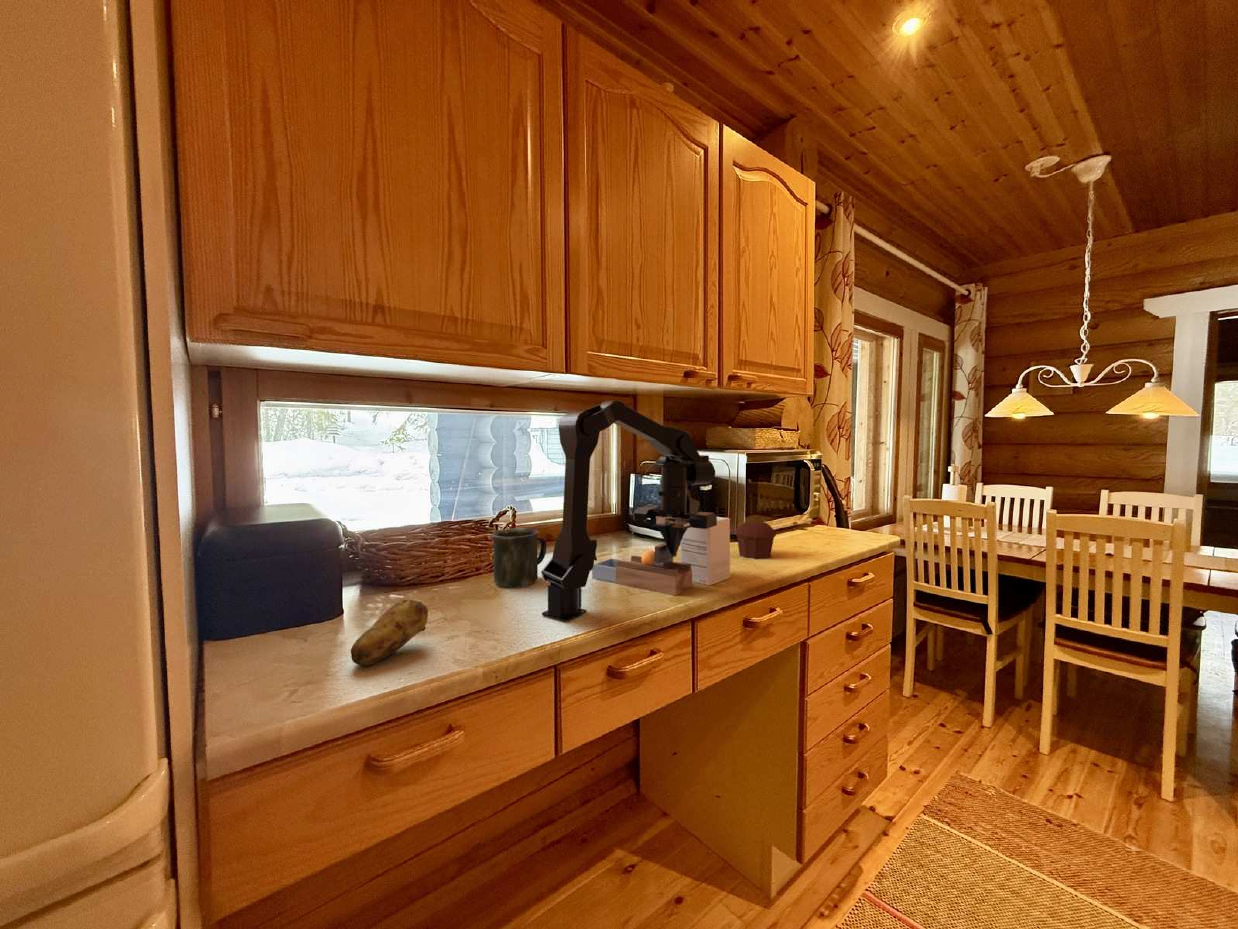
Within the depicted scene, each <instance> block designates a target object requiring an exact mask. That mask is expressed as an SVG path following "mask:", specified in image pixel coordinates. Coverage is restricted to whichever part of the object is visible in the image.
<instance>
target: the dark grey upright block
mask: <svg viewBox="0 0 1238 929" xmlns="http://www.w3.org/2000/svg"><path fill="white" fill-rule="evenodd" d="M654 552H655V560H654V567H660V568H666V569H671V568H673V562H674V558H676V557H677V556H678V555H677V554H678V553H677V554H676V555H671V553H670V551H669V549H668V546H667V544H666V542H664V543H661V544H657V545H655V546H654Z"/></svg>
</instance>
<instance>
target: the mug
mask: <svg viewBox="0 0 1238 929" xmlns="http://www.w3.org/2000/svg"><path fill="white" fill-rule="evenodd" d="M538 535H540V531H539V530H537V529H533V528H527V527H526V528H522V527H521V528H517V527H516V528H506V529H499V530H496V531H494V532H492V533H491V535H490V536H491V537H492V538H493V539H492V541H493V542H492V543H493V544H492V545H493V546H492V547H493V582H494V583H495V585H496V586H498V587H500V588H501V587H502V588H521V587H527V586H530V585H533V584H535V583H537V580H538V576H539V575H538V574H539V573H538V571H539V570H538V568H539V567H538V566H539V565H540V564H541V563H542V562H543V561H544V559H545V556H546V553H547V541H546V540H545V538H544V537H542V536H541V537H540V536H538ZM538 541H539V542H540V549H539V554H538Z"/></svg>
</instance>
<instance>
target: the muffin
mask: <svg viewBox="0 0 1238 929" xmlns="http://www.w3.org/2000/svg"><path fill="white" fill-rule="evenodd" d="M734 533H735V535H736V538H737V545H738V552H739V556H740V557H742V556H743V558H746V559H751V558H753V559H752V560H765V558H766V559H769V558H771V555H772V550H773V544H774V538H775V537H776V536H777V534H776V531H775V530H774V528H773V527H772V526H771V525H770V524H769V523H767V522H765V521H763V520H756V519H755V520H754V519H753V520H751V519H750V520H746V521H744V522H742V523H741V524H739V525H738V526H737V528H736V530H735V531H734Z"/></svg>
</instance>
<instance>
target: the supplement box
mask: <svg viewBox="0 0 1238 929" xmlns="http://www.w3.org/2000/svg"><path fill="white" fill-rule="evenodd" d="M716 517H717V525H716V526H713V527H710V528H707V529H700V528H692V527H691V528H688V529H687V530H686V532H685V533H684V535H683V537H682V540H681V543H680V545H679V548H680V551H679V552H680V554H679V555H680V556H679V559H680V560H679V561H680V562H679V563H683V564H689V565H691V569H692V583H696V582H697V583H698V584H701V585H704V586H712V585H715V584H717V583H719V582H723V581H726V580H728V579H730V578H731V574H730V573H731V519H730V518H729V517H721V516H716Z"/></svg>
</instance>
